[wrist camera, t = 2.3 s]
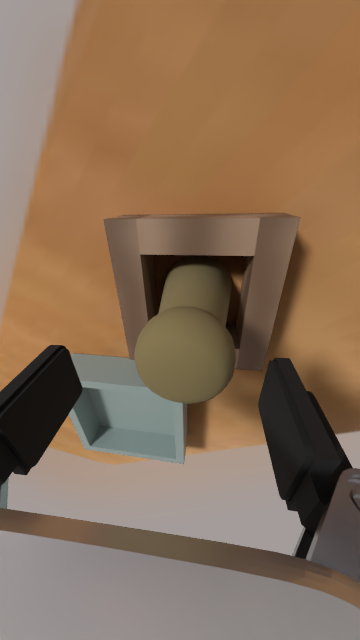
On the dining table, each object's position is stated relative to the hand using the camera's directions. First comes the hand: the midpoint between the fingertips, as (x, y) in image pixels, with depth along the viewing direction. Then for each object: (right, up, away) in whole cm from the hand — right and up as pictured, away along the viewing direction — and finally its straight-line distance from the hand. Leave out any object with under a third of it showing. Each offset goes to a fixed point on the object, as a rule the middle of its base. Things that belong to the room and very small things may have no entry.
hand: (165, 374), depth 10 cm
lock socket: (+2, +5, +9) cm, 11 cm away
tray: (-5, -8, +18) cm, 21 cm away
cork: (+2, +6, +9) cm, 11 cm away
